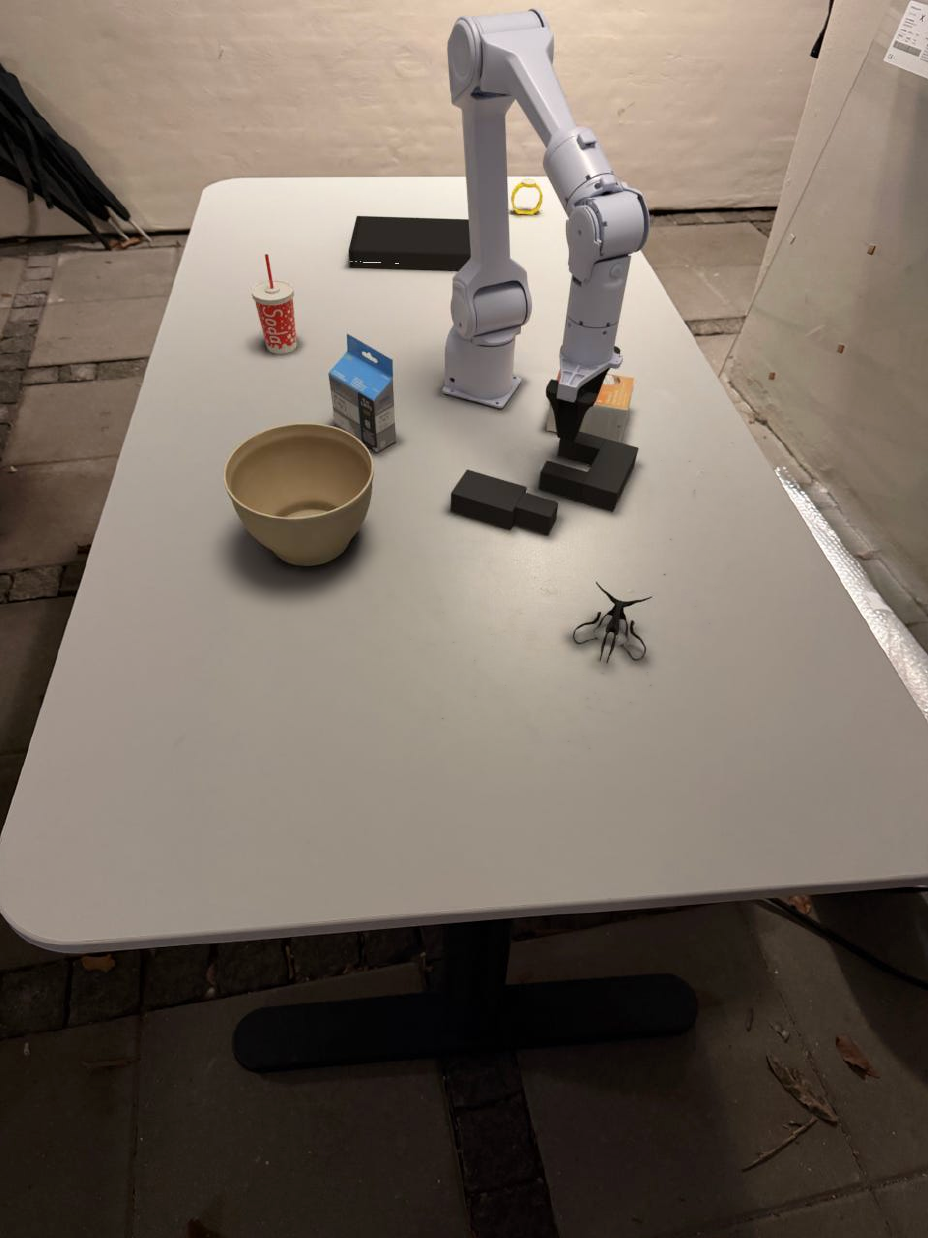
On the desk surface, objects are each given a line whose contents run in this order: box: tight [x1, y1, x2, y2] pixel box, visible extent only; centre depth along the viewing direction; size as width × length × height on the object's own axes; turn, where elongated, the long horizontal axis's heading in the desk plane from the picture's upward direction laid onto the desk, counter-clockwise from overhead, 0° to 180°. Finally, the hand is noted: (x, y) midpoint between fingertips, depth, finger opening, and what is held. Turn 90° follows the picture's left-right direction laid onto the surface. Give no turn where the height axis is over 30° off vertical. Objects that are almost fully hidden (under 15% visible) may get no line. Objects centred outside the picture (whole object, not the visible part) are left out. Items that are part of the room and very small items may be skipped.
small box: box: [546, 369, 636, 443], centre depth 107 cm, size 8×6×10 cm
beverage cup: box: [250, 253, 298, 355], centre depth 114 cm, size 6×6×14 cm
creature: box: [572, 581, 653, 664], centre depth 82 cm, size 8×5×8 cm
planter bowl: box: [222, 422, 375, 567], centre depth 88 cm, size 16×16×11 cm
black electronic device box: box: [348, 215, 471, 271], centre depth 140 cm, size 14×23×3 cm, turn 89°
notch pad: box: [538, 431, 639, 512], centre depth 100 cm, size 10×10×3 cm
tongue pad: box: [450, 469, 560, 536], centre depth 95 cm, size 12×5×3 cm, turn 67°
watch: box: [510, 177, 544, 216], centre depth 150 cm, size 6×3×6 cm, turn 96°
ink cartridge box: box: [327, 333, 397, 453], centre depth 101 cm, size 9×4×12 cm, turn 47°
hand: (576, 420), depth 94 cm, fingers open, 7 cm apart
